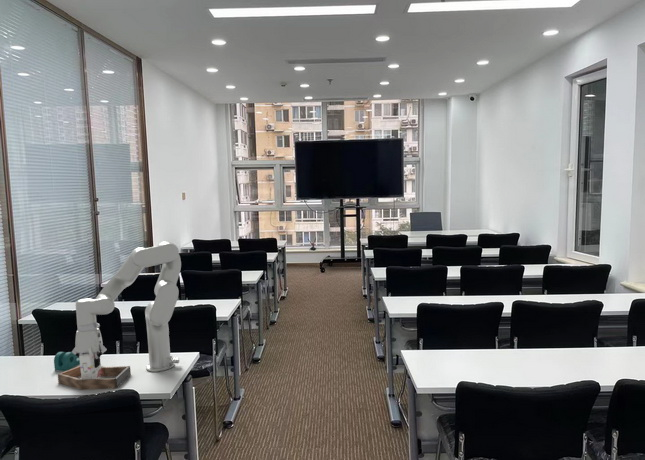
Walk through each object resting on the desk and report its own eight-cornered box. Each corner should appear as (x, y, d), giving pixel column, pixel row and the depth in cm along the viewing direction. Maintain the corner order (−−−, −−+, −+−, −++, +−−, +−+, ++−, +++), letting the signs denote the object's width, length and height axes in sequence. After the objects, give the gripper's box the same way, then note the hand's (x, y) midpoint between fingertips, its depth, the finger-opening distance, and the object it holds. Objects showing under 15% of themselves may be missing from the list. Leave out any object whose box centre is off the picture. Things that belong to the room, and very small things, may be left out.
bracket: (67, 371, 216) (66, 355, 216) (54, 370, 217) (53, 354, 217) (92, 357, 234) (90, 342, 233) (80, 357, 235) (78, 342, 234)
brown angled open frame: (136, 369, 215) (135, 360, 215) (116, 388, 194) (116, 379, 194) (73, 371, 215) (72, 363, 214) (47, 391, 194) (46, 382, 193)
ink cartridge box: (91, 374, 206) (88, 343, 205) (102, 374, 206) (99, 342, 205) (80, 382, 198) (78, 349, 197) (92, 382, 198) (89, 349, 197)
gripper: (110, 323, 204) (113, 362, 206) (72, 325, 204) (75, 364, 205) (103, 328, 197) (106, 369, 198) (63, 330, 196) (66, 371, 198)
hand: (90, 366), depth 202 cm, fingers closed on ink cartridge box, 5 cm apart
